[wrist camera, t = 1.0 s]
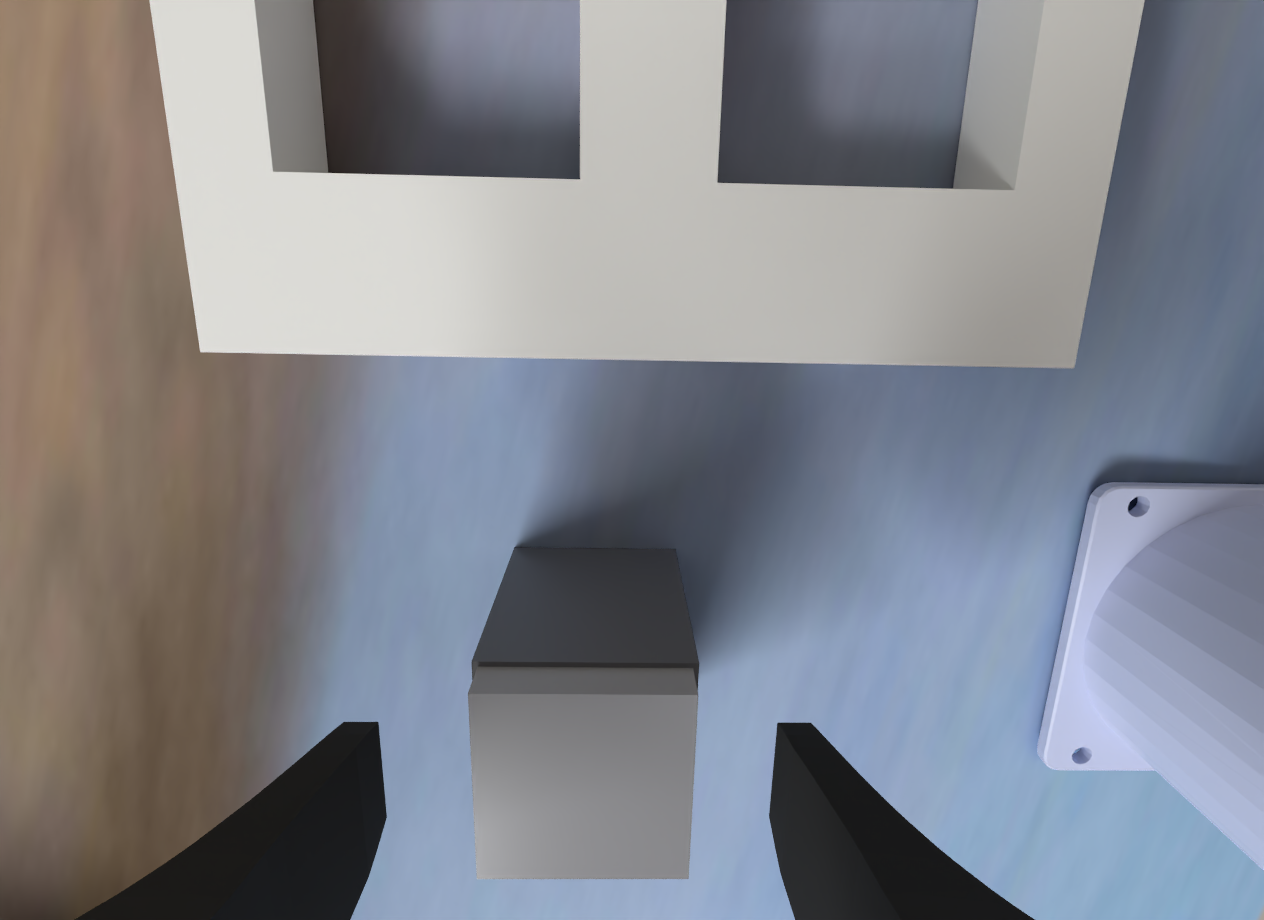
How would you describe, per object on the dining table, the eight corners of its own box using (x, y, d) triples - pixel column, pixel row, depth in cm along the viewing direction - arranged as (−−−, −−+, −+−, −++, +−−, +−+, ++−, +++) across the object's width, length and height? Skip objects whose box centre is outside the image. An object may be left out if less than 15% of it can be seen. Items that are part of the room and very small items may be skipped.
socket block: (1111, -293, 13) (1237, -439, 10) (1004, 353, 16) (1080, 369, 13) (185, -333, 12) (69, -495, 10) (265, 339, 15) (194, 352, 13)
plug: (675, 548, 17) (704, 689, 11) (669, 688, 18) (693, 883, 12) (515, 546, 17) (461, 688, 11) (518, 687, 18) (471, 883, 12)
